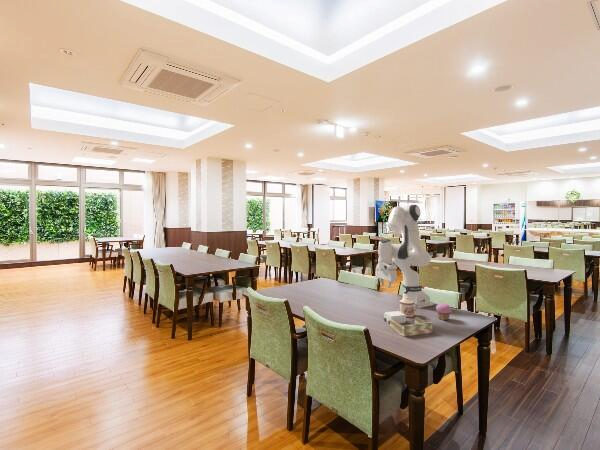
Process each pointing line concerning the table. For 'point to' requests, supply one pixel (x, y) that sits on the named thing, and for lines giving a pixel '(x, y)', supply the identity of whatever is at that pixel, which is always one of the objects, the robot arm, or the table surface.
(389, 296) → the table surface
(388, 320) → the trolley
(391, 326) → the bay
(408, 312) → the teacup with lid
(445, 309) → the cupcake
